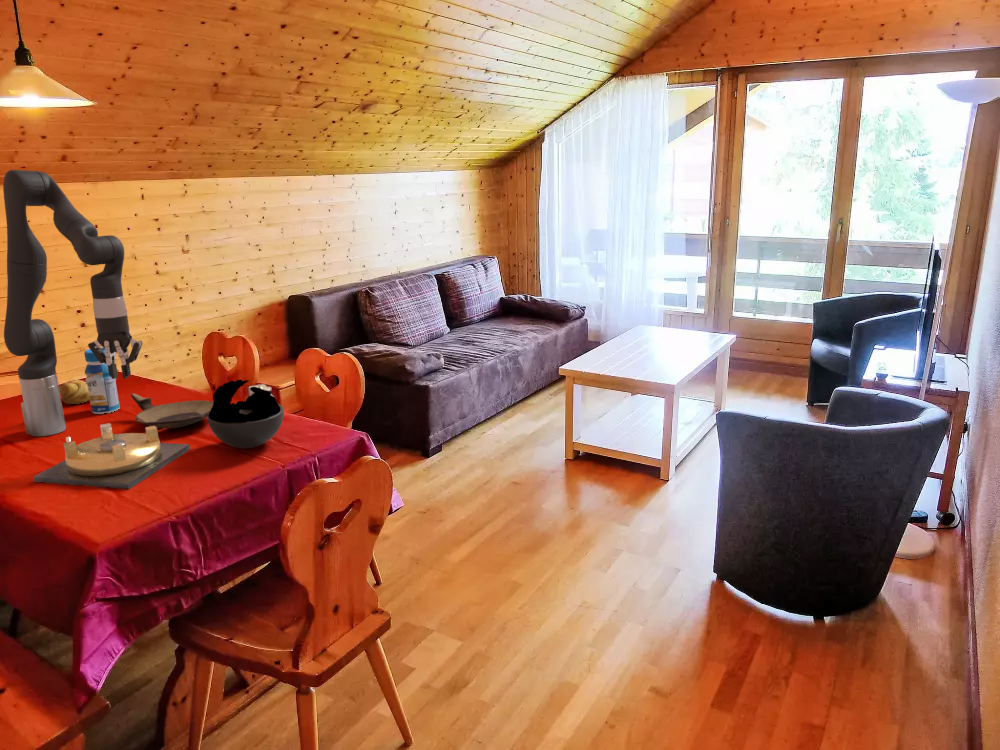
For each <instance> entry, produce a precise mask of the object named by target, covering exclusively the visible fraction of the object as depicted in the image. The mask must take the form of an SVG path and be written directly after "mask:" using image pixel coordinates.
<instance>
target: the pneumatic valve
mask: <svg viewBox="0 0 1000 750" xmlns="http://www.w3.org/2000/svg"><path fill="white" fill-rule="evenodd" d="M251 387H257V388H261V389H263V390H267V391H269V392H270V393H271V396H273V397H274V398H275V395H273V391H272V387H271V386H267V385H265V383H259V384H253V385H248V387H247V388H248V397H249V396H251V395H252V394H253V393H254V392H252V391H251V389H250V388H251ZM275 399H276V398H275Z"/></svg>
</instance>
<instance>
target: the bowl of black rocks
mask: <svg viewBox="0 0 1000 750" xmlns="http://www.w3.org/2000/svg"><path fill="white" fill-rule="evenodd" d="M249 381H250V379H247V380H246V379H244V380H242V379H236V380H230V381H228V382H224V383H223V384H222V385H219V386H218V387H217V389H216V390H215V391H214V393H213V394H212V402H214V403H213V406H212V408H211V410H210V412H209V414H208V415H207V417H206V419H207V423H208V426H209V428H210V430H211V432H212V433H213V434H214V435H215V436H216V438H218V440H219V441H221V442H222V443H224V444H226V445H228V446H230V447H232V448H236V449H252V448H257V447H259V446H261V445H264V444H265V443H267V442H269V441H270V440H271V439H272V438H273V437H274V436H275V435H276V434H277V433H278V431H279V430H280V428H281V426H282V423H283V419H284V414H285V410H284V406H283V405H281V404H279V403H278V400H277V398H274V397H275V396H274V395H273V396H274V397H273V396H271V393H270V392H269V391H267V390H263V389H261V388H257V387H251V388H250V389H251V391H252V392H254V393H253V394H252V395H251V396H249V395H248V396H247V397H246V398H245V400H244V401H243V400H238V401H237V402H232V399H233V397H234V396H235V395H236V393H237V392H238V390H239V389H240V388H241V387H244V385H245V384H246V383H249ZM231 402H232V403H231Z"/></svg>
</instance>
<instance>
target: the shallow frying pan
mask: <svg viewBox="0 0 1000 750" xmlns="http://www.w3.org/2000/svg"><path fill="white" fill-rule="evenodd" d="M130 396H131V398H132V399H133V401H134V402H135V403H136V404H137V406H138V408H140V409H141V411H140V412H139V413H137V414H136V416H135V420H136V422H137V423H140V424H143V425H147V426H148V427H151V426H156V428H157V429H179V428H184V427H187V426H190V425H193V424H196V423H198V422H201V421H202V420H205V419H207V415H208V414H209V412H210V410H211V408H212V406H213V403H214V402H213V400H203V399H202V400H199V399H198V400H187V401H177V402H169V403H164V404H159V405H154V404H153V403H152V398H151V397H143V396H141V395H139V394H137V393H133V392H132V393H131V394H130Z"/></svg>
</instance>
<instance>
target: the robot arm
mask: <svg viewBox="0 0 1000 750" xmlns="http://www.w3.org/2000/svg"><path fill="white" fill-rule="evenodd" d="M2 184H3V186H2V188H3V189H2V191H3V200H4V201H3V202H4V203H3V204H4V209H5V219H6V235H7V236H6V237H7V242H6V243H7V245H6V247H7V250H6V279H7V285H6V286H7V289H6V291H7V293H6V296H7V297H6V310H5V311H6V312H5V319H4V327H3V339H4V344H5V348H6V349H7V350H8V351H9V352H10V353H11V355H14V356H15V357H16V356H17V357H23V356H24V357H25V356H27V357H26V359H25V361H24V362H23V363H22V364H21V365H20V366H19V367H18V368H17V375H18V380H19V385H20V390H21V395H22V396H21V397H22V399H23V401H22V402H21V403H20V406H21V411H22V416H23V420H24V427H25V433H26V434H27V435H30V436H33V437H46V436H47V437H48V436H52V435H57V434H59V433H62V432H65V430H66V429H67V426H66V420H65V415H64V409H63V404H62V397H61V394H60V392H59V386H60V385H59V382H58V376H57V370H56V367H57V363H58V359H57V358H58V357H57V349H56V341H55V336H54V333H53V330H52V327H51V326H50V324H49V323H47V322H46V321H45V320H43V319H41V318H34V319H32V318H33V317H32V314H33V309H34V306H35V303H36V302H37V299H38V298H39V296H40V294H41V292H42V290H43V288H44V286H45V284H46V280H47V276H48V274H47V273H48V267H47V266H48V264H47V263H48V259H47V258H48V257H47V253H46V251H45V249H44V247H43V245H42V244H41V242H40V241H39V240H38V238H37V237H36V235H35V234H34V232H33V231H32V230H31V229H32V228H31V227H30V225H29V221H28V219H27V218H28V216H27V207H47V208H49V209H51V210H52V211H53V213H52V216H53V219H52V221H53V224H54V226H55V228H56V230H57V231H58V232H59V234H61V235H62V236H63V237H65V238H66V239H67V240H68V241H69V242H70V243H71V245H72V247H73V249H74V250H75V253H76V256H77V258H78V259H79V260H80V261H81V262H82V263H84V264H85V265H89V266H99V265H104V267H103V270H101V272H98V273H96V274H94V275H92V276H90V279H89V281H90V282H89V283H90V289H91V295H92V308H93V313H94V321H95V328H96V332H97V338H96V339H95V340H93V341H92V342H89V343H88V344H87V346H88V348H89V349H90V350H91V351H92V352H93V354H94V355H95V357H96V358H97V359H98V361H99V362H100V363H104V364H107V366H108V371H109V376H110V377H111V378H112V379H116V380H117V378H118V377H119V374H118V367H117V363H116V354H117V355H118V357H119V359H120V360H119V361H120V362H121V363H120V364H121V365H120V368H121V374H122V378H123V379H129V377H130V376H131V374H132V372H131V366H130V364H131V363H132V364H133V362H135V361H137V358H138V356H139V353H140V351H141V349H142V345H143V341H142V340H137V339H134V338H133V337H132V335H131V334H130V325H129V319H128V318H129V316H128V310H127V305H126V302H125V301H126V300H125V297H124V294H123V293H124V291H123V285H122V274H123V266H124V260H125V248H124V244H123V243H122V241H121V239H119V238H118V237H117V236H115V235H111V234H110V235H99V236H98V234H99V233H98V229H97V227H96V226H95V225H94V224H93V223H92V222H91V221H90V220H89V219H87V218H86V217H85V216H84V215H83V214H82V213H80V212H79V210H77V209H76V207H74V204H72V202H71V201H70V200H69V198H68V197H67V195H66V194H65V193H64V191H63V190H62V189H61V187H60V186H59V185H58V183H57V182H56V180H54V178H53V177H51V175H49V174H48V173H47V172H44V171H39V170H26V169H25V170H24V169H10V170H8V171H7V172H5V174H4V176H3V183H2ZM129 346H130V347H131V351H130V352H129V348H128V347H129ZM101 348H104V349H105V353H104V352H103V351H102V349H101ZM129 353H130V354H129ZM123 379H122V380H123Z"/></svg>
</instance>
